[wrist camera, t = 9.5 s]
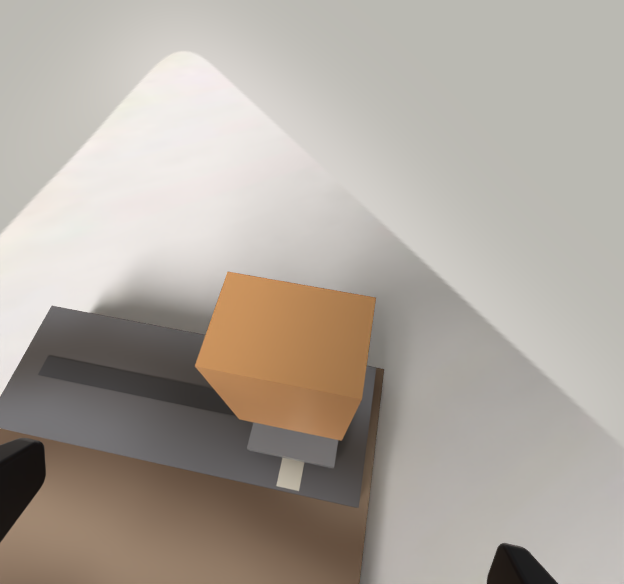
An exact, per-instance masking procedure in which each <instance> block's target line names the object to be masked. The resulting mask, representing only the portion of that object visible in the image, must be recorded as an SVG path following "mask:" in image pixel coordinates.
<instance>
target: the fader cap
mask: <svg viewBox="0 0 624 584" xmlns="http://www.w3.org/2000/svg"><path fill="white" fill-rule="evenodd" d="M375 301H376V298H375V297H370V296H364V295H358V294H352V293H347V292H341V291H335V290H330V289H324V288H318V287H312V286H307V285H301V284H295V283H290V282H284V281H278V280H272V279H267V278H261V277H255V276H250V275H244V274H238V273H232V272H227V275H226V278H225V281H224V284H223V286H222V289H221V292H220V295H219V298H218V301H217V304H216V307H215V309H214V312H213V315H212V318H211V321H210V324H209V327H208V330H207V332H206V335H205V338H204V341H203V344H202V347H201V350H200V353H199V355H198V358H197V361H196V364H195V367H196V368H197V369H198V371H199V372H200V373H201V374H202V375H203V377H204V378H205V379H206V380H207V381H208V383H209V384H210V385H211V386H212V387H213V389H214V390H215V391H216V392H217V393H218V395H219V396H220V397H221V398H222V399H223V401H224V402H225V403H226V404H227V405H228V407H229V408H230V409H231V410H232V411H233V413H234V414H235V415H236V416H237V417H238V419H240V420H245V421H249V422H253V426H252V430H251V434H250V438H249V441H248V445H247V449H248V450H249V451H254V452H259V453H263V454H268V455H273V456H277V457H282V458H286V459H291V460H296V461H300V462H305V463H310V464H314V465H319V466H324V467H328V468H334V465H335V458H336V452H337V446H338V440H340V441H342V439H343V437H344V435H345V433H346V431H347V429H348V427H349V425H350V423H351V421H352V419H353V417H354V415H355V413H356V410H357V408H358V406H359V404H360V402H361V400H362V395H363V388H364V381H365V373H366V366H367V359H368V352H369V344H370V337H371V330H372V323H373V315H374V308H375Z"/></svg>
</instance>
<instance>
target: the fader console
mask: <svg viewBox="0 0 624 584" xmlns="http://www.w3.org/2000/svg"><path fill="white" fill-rule="evenodd" d="M204 338H205V335H203V334H198V333H192V332H187V331H182V330H177V329H171V328H166V327H161V326H156V325H150V324H145V323H140V322H135V321H129V320H124V319H119V318H114V317H108V316H103V315H98V314H93V313H87V312H82V311H77V310H72V309H67V308H61V307H56V306H51V308H50V310H49V312H48V313H47V315H46V317H45V319H44V320H43V322H42V324H41V326H40V328H39V329H38V331H37V333H36V335H35V336H34V338H33V340H32V342H31V343H30V345H29V347H28V349H27V351H26V352H25V354H24V356H23V358H22V359H21V361H20V363H19V365H18V366H17V368H16V370H15V372H14V374H13V375H12V377H11V379H10V381H9V382H8V384H7V386H6V388H5V389H4V391H3V393H2V395H1V397H0V445H1V444H4V443H7V442H10V441H13V440H15V439H18V438H29V439H33V440H38V441H40V442H42V443H43V445H44V448H45V464H46V477H45V480H44V483H43V485H42V487H41V488H40V490H39V491H38V492H37V494H36V495H35V497H34V498H33V499H32V501H31V502H30V503H29V505H28V506H27V507H26V509H25V510H24V511H23V513H22V514H21V516H20V517H19V518H18V520H17V521H16V522H15V524H14V525H13V526H12V528H11V529H10V530H9V532H8V533H7V535H6V536H5V537H4V539H3V540H2V541H1V543H0V584H359V582H360V573H361V565H362V556H363V547H364V539H365V530H366V521H367V513H368V504H369V495H370V487H371V478H372V469H373V461H374V452H375V444H376V435H377V426H378V418H379V409H380V400H381V392H382V383H383V374H384V369H380V368H376V367H371V366H366V373H365V381H364V388H363V395H362V400H361V402H360V404H359V406H358V408H357V410H356V413H355V415H354V417H353V419H352V421H351V423H350V425H349V427H348V429H347V431H346V433H345V435H344V437H343V439H342V441H340V440H338V446H337V452H336V458H335V465H334V468H328V467H324V466H319V465H314V464H310V463H305V462H300V461H296V460H291V459H286V458H282V457H277V456H273V455H268V454H263V453H259V452H254V451H249V450H248V449H247V445H248V441H249V438H250V434H251V430H252V426H253V422H249V421H245V420H240V419H238V417H237V416H236V415H235V414H234V413H233V411H232V410H231V409H230V408H229V407H228V405H227V404H226V403H225V402H224V401H223V399H222V398H221V397H220V396H219V395H218V393H217V392H216V391H215V390H214V389H213V387H212V386H211V385H210V384H209V383H208V381H207V380H206V379H205V378H204V377H203V375H202V374H201V373H200V372H199V371H198V369H197V368H196V367H195V364H196V361H197V358H198V355H199V353H200V350H201V347H202V344H203V341H204Z"/></svg>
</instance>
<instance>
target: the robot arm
mask: <svg viewBox="0 0 624 584" xmlns="http://www.w3.org/2000/svg"><path fill="white" fill-rule="evenodd" d="M45 477H46V464H45V448H44V445H43V443H42V442H40V441H38V440H33V439H29V438H18V439H15V440H13V441H10V442H7V443H4V444H1V445H0V543H1V541H2V540H3V539H4V537H5V536H6V535H7V533H8V532H9V530H10V529H11V528H12V526H13V525H14V524H15V522H16V521H17V520H18V518H19V517H20V516H21V514H22V513H23V511H24V510H25V509H26V507H27V506H28V505H29V503H30V502H31V501H32V499H33V498H34V497H35V495H36V494H37V492H38V491H39V490H40V488H41V487H42V485H43V483H44V480H45ZM487 584H558V583H557V582H556V581H555V580H554V579H553V577H552V576H551V575H550V574H549V573H548V572H547V571H546V570H545V569H544V568H543V567H542V565H541V564H540V563H539V562H538V561H537V560H536V559H535V558H534V557H533V556H532V555H531V553H530V552H529V551H528V550H526V549H525V548H523V547H520V546H516V545H511V544H507V543H502V544H500V545H499V546H498V548H497V551H496V554H495V557H494V559H493V562H492V565H491V568H490V570H489V573H488V577H487Z"/></svg>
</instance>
